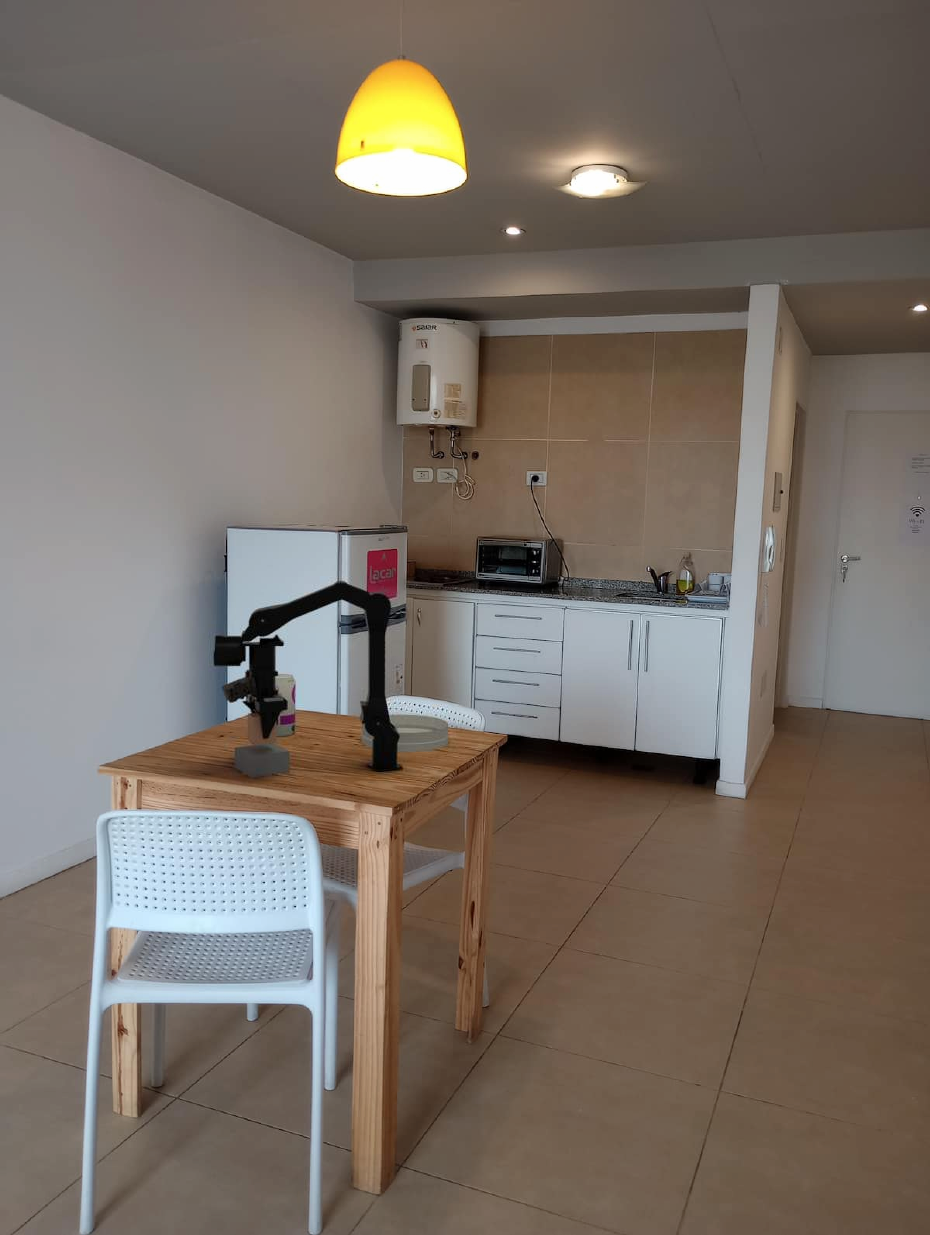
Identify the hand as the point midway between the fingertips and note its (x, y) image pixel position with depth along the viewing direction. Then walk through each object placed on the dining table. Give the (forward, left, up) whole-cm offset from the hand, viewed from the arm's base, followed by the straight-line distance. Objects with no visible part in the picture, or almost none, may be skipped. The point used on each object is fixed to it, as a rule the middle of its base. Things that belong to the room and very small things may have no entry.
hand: (262, 736), depth 216 cm
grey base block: (0, 0, -8) cm, 8 cm away
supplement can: (+34, -14, -8) cm, 38 cm away
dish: (+14, -41, -8) cm, 44 cm away
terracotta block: (0, 0, -1) cm, 1 cm away
